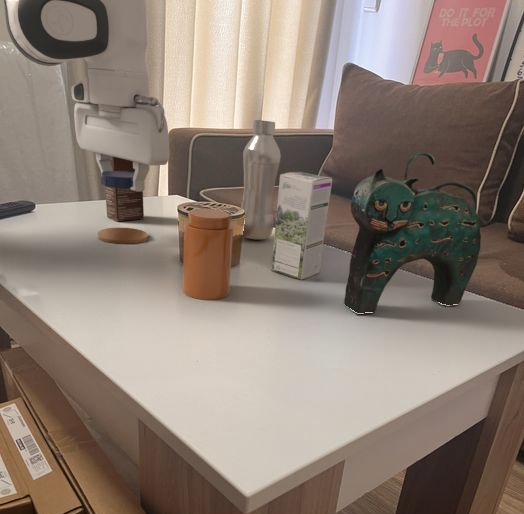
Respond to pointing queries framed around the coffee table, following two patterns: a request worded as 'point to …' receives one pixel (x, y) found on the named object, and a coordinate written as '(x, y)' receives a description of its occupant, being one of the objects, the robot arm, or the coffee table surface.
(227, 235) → the jar
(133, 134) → the robot arm
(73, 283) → the coffee table surface
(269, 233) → the metal water bottle
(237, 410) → the coffee table surface
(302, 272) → the syrup box
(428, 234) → the ceramic cat
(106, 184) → the jar lid
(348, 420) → the coffee table surface
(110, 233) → the coaster
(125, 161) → the box
